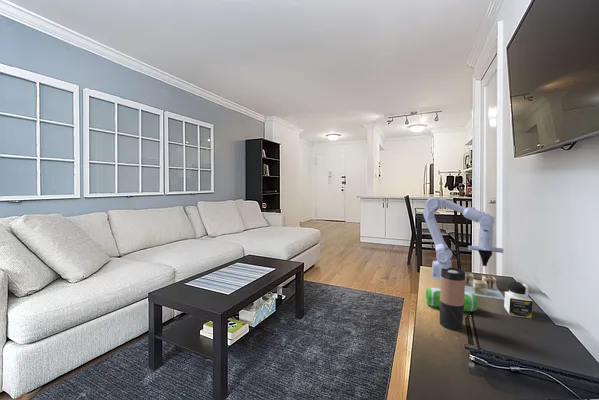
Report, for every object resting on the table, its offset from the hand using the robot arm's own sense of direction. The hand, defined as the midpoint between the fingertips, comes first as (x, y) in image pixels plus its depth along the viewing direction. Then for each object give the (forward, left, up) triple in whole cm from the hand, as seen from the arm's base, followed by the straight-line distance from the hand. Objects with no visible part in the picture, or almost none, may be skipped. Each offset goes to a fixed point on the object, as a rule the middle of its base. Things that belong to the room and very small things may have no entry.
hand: (484, 265), depth 141 cm
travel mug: (-19, -51, -11) cm, 56 cm away
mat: (-3, -7, -10) cm, 13 cm away
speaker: (-18, -35, -11) cm, 41 cm away
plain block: (-4, -12, -10) cm, 16 cm away
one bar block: (-8, -2, -10) cm, 13 cm away
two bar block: (+1, -3, -10) cm, 10 cm away
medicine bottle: (+6, -29, -11) cm, 32 cm away
